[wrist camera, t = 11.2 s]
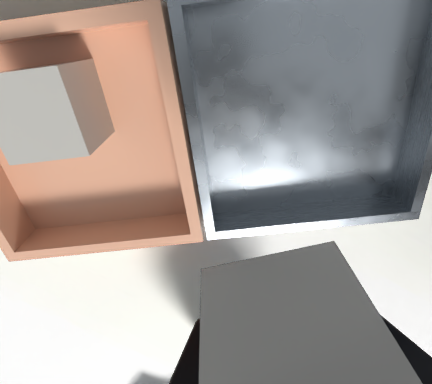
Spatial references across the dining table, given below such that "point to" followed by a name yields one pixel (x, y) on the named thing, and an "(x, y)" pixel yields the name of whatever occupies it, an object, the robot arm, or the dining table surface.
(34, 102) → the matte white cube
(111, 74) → the dish
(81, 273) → the dining table surface
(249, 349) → the grey cube
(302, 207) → the bin
